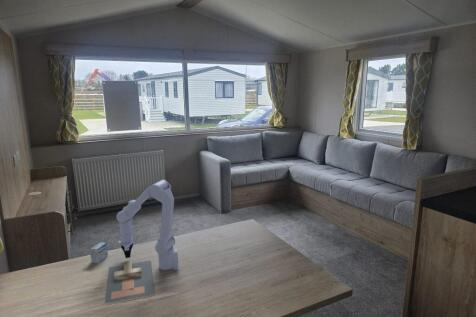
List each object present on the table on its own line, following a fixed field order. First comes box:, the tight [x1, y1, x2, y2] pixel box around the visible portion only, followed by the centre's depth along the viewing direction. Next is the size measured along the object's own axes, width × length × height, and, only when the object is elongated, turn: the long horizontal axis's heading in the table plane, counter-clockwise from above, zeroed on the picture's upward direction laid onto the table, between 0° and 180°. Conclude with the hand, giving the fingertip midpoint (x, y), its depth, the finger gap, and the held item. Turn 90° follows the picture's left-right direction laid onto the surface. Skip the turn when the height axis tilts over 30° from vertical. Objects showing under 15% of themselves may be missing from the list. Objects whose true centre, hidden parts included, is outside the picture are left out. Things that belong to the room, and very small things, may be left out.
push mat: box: [104, 260, 156, 306], centre depth 143 cm, size 20×29×1 cm
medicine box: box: [89, 241, 109, 264], centre depth 160 cm, size 8×4×9 cm, turn 168°
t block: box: [114, 260, 142, 281], centre depth 149 cm, size 12×12×2 cm
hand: (127, 257), depth 160 cm, fingers closed
